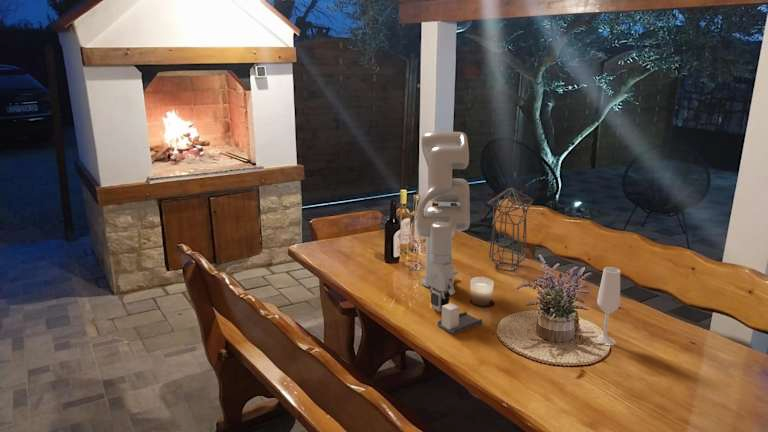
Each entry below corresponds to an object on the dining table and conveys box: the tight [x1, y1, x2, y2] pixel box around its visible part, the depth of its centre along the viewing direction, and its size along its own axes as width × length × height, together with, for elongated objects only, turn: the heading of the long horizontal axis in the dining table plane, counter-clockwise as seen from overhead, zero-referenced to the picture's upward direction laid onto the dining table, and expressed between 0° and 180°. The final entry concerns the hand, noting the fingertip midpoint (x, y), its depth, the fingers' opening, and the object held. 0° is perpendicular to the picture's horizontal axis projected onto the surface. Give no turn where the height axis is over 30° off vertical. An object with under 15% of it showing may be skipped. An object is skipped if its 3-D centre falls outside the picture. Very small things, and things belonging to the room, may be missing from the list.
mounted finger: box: [441, 302, 460, 330], centre depth 192 cm, size 5×4×7 cm
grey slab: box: [437, 311, 483, 336], centre depth 195 cm, size 13×8×2 cm, turn 127°
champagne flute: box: [596, 266, 621, 347], centre depth 181 cm, size 7×7×24 cm
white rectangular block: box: [431, 289, 447, 312], centre depth 207 cm, size 5×4×7 cm
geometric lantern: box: [486, 187, 535, 272], centre depth 243 cm, size 16×16×35 cm
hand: (439, 304), depth 208 cm, fingers open, 4 cm apart
